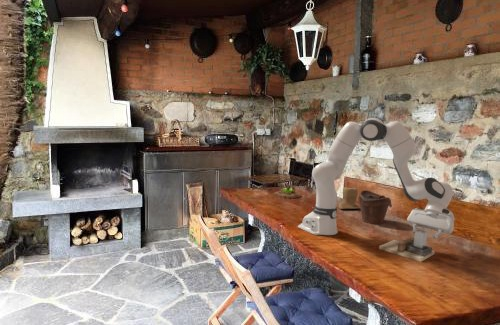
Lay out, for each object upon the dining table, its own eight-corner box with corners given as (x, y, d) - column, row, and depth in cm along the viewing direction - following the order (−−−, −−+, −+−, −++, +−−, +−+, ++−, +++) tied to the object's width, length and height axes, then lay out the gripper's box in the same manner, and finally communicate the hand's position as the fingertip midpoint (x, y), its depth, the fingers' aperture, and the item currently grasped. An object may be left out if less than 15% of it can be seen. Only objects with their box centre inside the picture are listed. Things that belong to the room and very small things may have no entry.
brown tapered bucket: (391, 227, 212) (393, 197, 210) (355, 223, 218) (357, 194, 216) (389, 219, 229) (392, 191, 226) (357, 215, 235) (359, 188, 233)
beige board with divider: (379, 248, 175) (380, 237, 175) (393, 242, 185) (394, 232, 185) (420, 261, 160) (422, 250, 160) (434, 254, 170) (435, 242, 170)
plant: (287, 192, 303) (287, 179, 302) (304, 196, 289) (305, 183, 287) (269, 195, 291) (270, 181, 289) (287, 199, 276) (288, 185, 274)
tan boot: (353, 206, 261) (355, 185, 259) (361, 210, 250) (363, 189, 248) (334, 206, 258) (335, 186, 256) (341, 210, 247) (342, 189, 245)
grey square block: (413, 251, 168) (414, 231, 167) (416, 249, 171) (418, 229, 170) (421, 254, 166) (423, 233, 164) (425, 252, 168) (427, 231, 167)
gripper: (411, 204, 180) (400, 226, 175) (455, 212, 165) (445, 237, 160) (414, 211, 184) (404, 233, 179) (458, 220, 169) (448, 244, 163)
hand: (424, 235), depth 169 cm, fingers open, 8 cm apart
